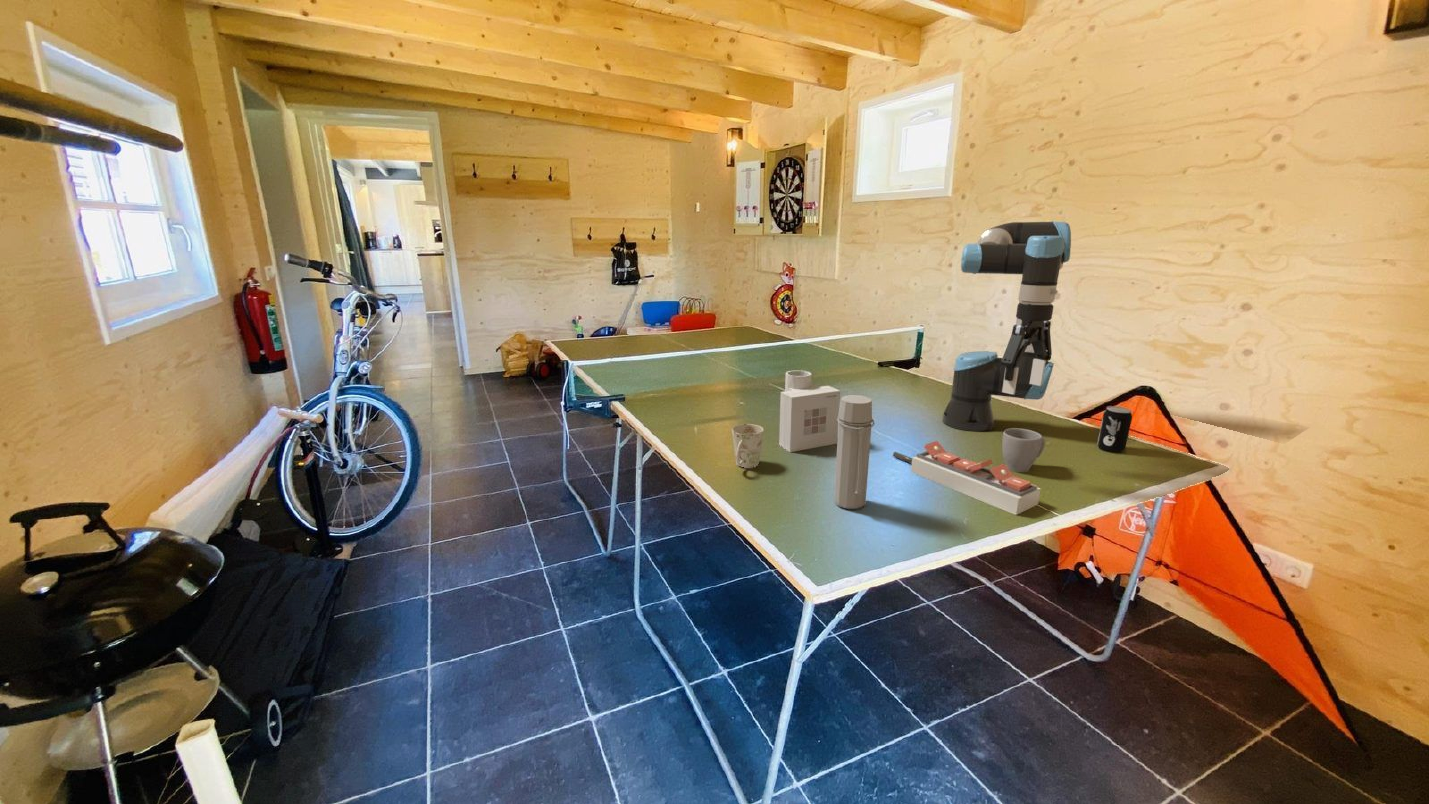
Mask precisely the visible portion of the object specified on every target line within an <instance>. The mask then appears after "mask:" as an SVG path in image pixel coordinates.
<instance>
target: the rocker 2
mask: <svg viewBox="0 0 1429 804" xmlns="http://www.w3.org/2000/svg"><path fill="white" fill-rule="evenodd" d="M989 470H990V471H991V473H992V474H993V475H994V476H995V477H996V479H997V480H998V481H999V482H998V483H1000V484H1001V485H1003V486H1006V487H1009V488H1011V489H1014V490H1017V491H1019V492H1020V491H1022V490H1024V489H1026V488H1029V487H1030V486H1031V484H1032V482H1031V481H1029V480H1026V479H1023V478H1021V477H1017V476H1015V475H1014V474H1013V472H1012V471H1011V470H1009V469H1008V468H1007V467H1006V464H1005V462H1004V463H1001V464H998V465H996V466H993V467H992V468H990V469H989Z"/></svg>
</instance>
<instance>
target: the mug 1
mask: <svg viewBox="0 0 1429 804" xmlns="http://www.w3.org/2000/svg"><path fill="white" fill-rule="evenodd" d="M764 432H765V431H764V428H763V426H761V425H758V424H752V423H742V424H737V425H734V426H733V427H732V429H731V433H732V441H733V442H732V443H733V449H734V456H735V463H736V466H737V465H738V466H737V467H739V466H741V467H744V468H743V469H754V468H756V466H757V467H758V466H759V465H758V464H759V463H760V458H761V451H762V445H763V439H764ZM741 467H740V468H741ZM753 467H754V468H753Z"/></svg>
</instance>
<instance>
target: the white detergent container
mask: <svg viewBox="0 0 1429 804" xmlns="http://www.w3.org/2000/svg"><path fill="white" fill-rule="evenodd" d="M784 384H785V386H784V391H780V400H779V401H780V406H779V408H780V409H779V436H778V437H779V438H778V439H779V440H778V446H779V445H780V446H779V447H781V446H782V447H783V448H782V447H781V448H782V449H784V450H785V449H786V450H785V451H787V452H789V453H793V452H798V451H803V450H809V449H815V448H820V447H826V446H831V445H832V446H833V445H837V442H838V426H839V422H838V421H837V418H838V415H839V409H840V403H841V390H840V389H838V388H835V387H833V386H830V385H822V386H814V385H812V372H810V371H806V370H798V369H797V370H787V371H786V372H785V382H784Z"/></svg>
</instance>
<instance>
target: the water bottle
mask: <svg viewBox="0 0 1429 804" xmlns="http://www.w3.org/2000/svg"><path fill="white" fill-rule="evenodd" d="M872 403H873V402H872V398H870V397H868V396H865V395H859V394H858V395H857V394H855V395H854V394H850V395H844V396H840V404H839V415H838V418H837V421H838V437H837V444H836V445H837V447H836V459H835V462H836V463H835V476H834V477H835V478H834V482H835V483H834V495H833V500H834V501H833V502H834V503H835V504H836V505H837V506H839V507H840V508H843V509H847V510H856V509H861V508H862V507H863V506H865V505H866V502H867V488H868V474H869V465H870V464H869V463H870V461H869V460H870V453H871V452H870V450H871V437H872V428H873V427H874V426H875V420H874V419H873V406H872Z"/></svg>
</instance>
